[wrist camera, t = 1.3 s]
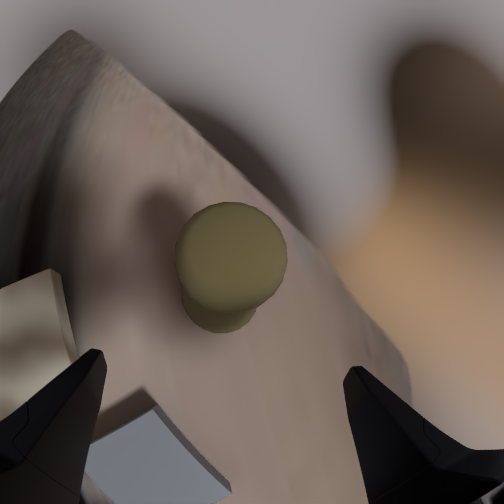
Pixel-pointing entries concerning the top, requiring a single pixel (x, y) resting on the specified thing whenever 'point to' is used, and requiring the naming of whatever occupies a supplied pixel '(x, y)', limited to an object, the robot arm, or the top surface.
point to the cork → (229, 264)
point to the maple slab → (32, 338)
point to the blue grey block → (153, 465)
